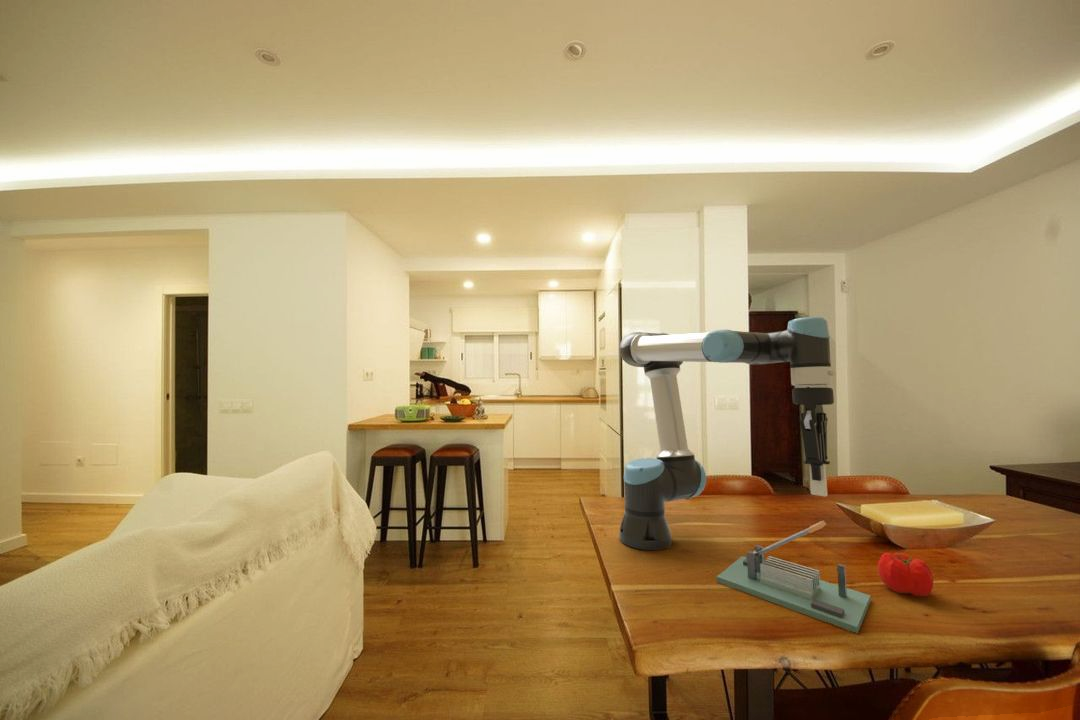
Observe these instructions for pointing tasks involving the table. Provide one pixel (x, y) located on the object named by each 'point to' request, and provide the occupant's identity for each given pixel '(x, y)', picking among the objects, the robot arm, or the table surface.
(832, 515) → the table surface
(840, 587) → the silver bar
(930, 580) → the tomato
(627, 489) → the robot arm
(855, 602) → the board
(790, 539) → the silver flat strip
